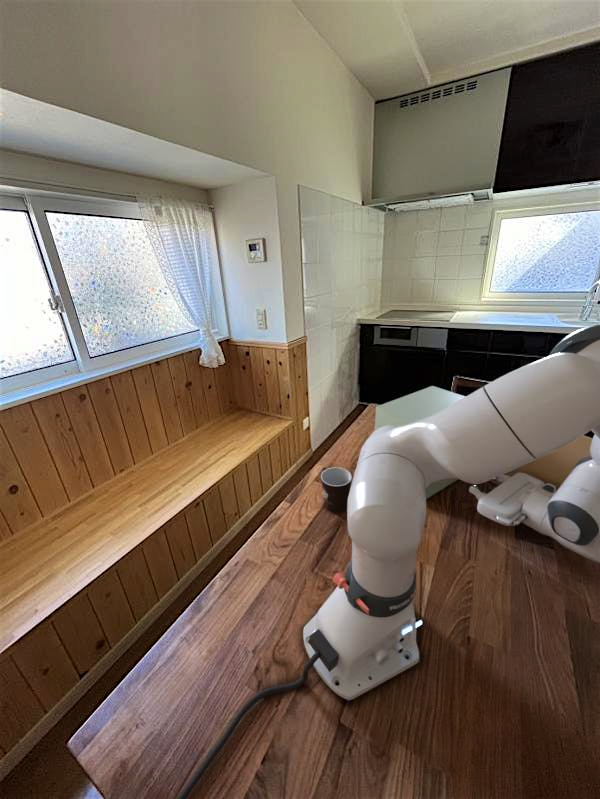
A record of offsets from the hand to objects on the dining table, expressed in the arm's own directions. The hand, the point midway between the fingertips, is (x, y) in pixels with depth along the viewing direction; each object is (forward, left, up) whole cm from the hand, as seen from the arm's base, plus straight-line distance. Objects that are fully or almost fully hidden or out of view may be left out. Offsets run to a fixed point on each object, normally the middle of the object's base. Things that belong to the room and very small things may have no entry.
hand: (480, 481), depth 92 cm
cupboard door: (+16, -5, -8) cm, 18 cm away
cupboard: (0, +18, -8) cm, 20 cm away
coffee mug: (-31, +24, -8) cm, 40 cm away
